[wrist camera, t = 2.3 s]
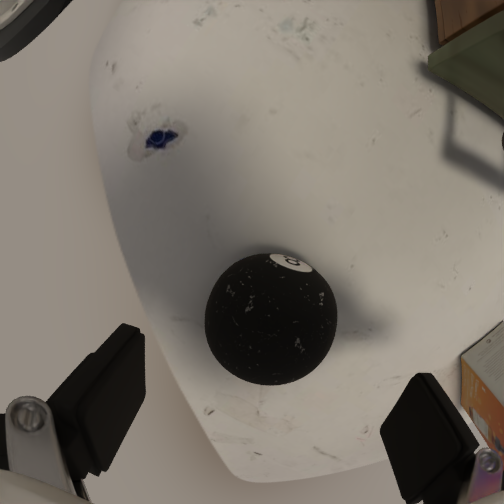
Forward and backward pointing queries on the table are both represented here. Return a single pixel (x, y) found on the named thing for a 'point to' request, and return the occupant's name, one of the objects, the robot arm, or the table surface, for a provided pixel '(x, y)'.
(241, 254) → the table surface
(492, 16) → the drawer
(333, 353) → the table surface
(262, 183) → the table surface
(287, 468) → the table surface
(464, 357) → the small box
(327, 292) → the billiard ball
